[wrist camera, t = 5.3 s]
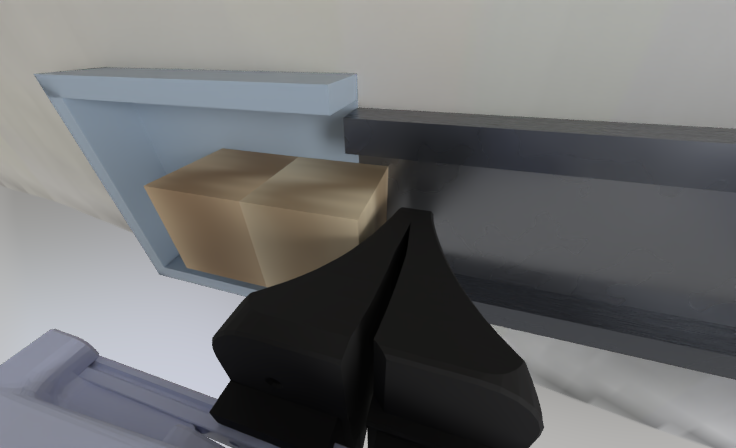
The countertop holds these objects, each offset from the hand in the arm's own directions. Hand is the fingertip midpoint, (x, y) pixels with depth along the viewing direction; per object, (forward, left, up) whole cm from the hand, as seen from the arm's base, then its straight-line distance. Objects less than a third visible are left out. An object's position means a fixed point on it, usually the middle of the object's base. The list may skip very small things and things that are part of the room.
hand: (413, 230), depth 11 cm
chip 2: (+2, +3, -1) cm, 4 cm away
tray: (+5, +7, -1) cm, 9 cm away
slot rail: (-3, -5, -1) cm, 6 cm away
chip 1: (+4, +6, -1) cm, 7 cm away
